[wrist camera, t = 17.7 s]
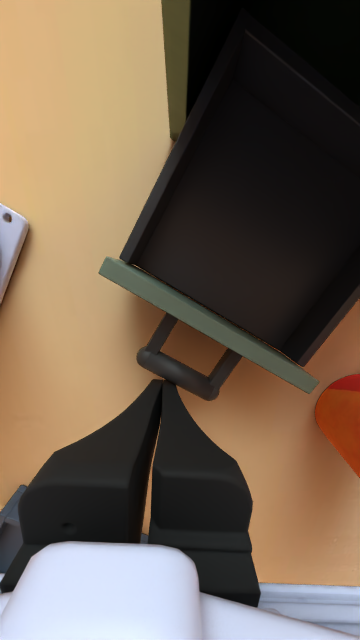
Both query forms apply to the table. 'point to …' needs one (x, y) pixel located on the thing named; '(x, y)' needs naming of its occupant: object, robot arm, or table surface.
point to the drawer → (252, 216)
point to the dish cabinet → (277, 16)
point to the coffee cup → (342, 418)
